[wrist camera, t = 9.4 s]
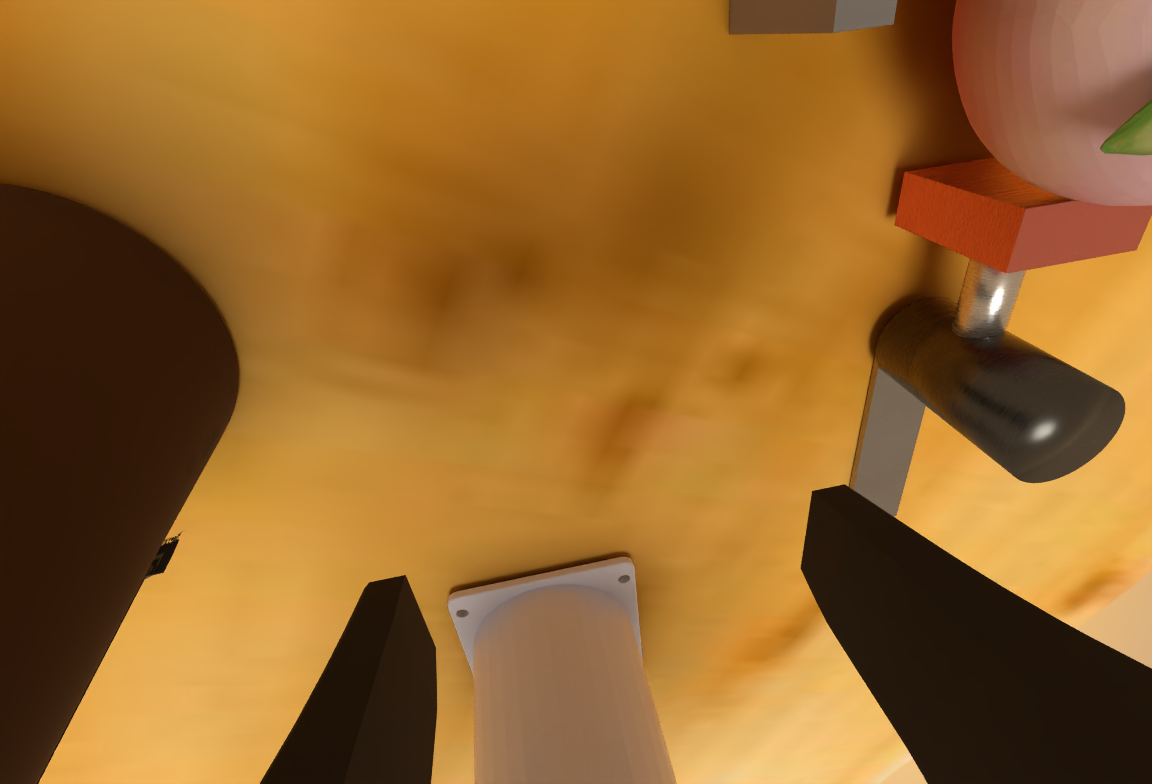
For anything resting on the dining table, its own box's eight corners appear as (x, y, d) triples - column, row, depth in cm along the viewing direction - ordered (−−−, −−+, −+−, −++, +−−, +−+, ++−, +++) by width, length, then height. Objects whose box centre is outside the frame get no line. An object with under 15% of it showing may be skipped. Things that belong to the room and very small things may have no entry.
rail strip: (892, 510, 26) (896, 515, 26) (842, 521, 26) (846, 526, 26) (937, 335, 21) (943, 339, 21) (876, 347, 21) (881, 351, 21)
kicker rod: (954, 368, 21) (1104, 469, 16) (863, 385, 21) (988, 494, 16) (1015, 153, 17) (1240, 201, 12) (904, 171, 17) (1088, 228, 12)
